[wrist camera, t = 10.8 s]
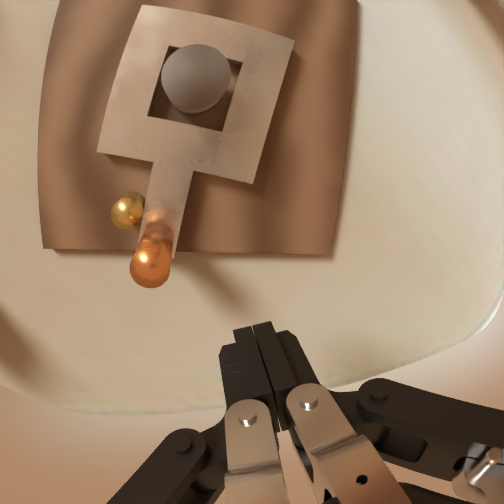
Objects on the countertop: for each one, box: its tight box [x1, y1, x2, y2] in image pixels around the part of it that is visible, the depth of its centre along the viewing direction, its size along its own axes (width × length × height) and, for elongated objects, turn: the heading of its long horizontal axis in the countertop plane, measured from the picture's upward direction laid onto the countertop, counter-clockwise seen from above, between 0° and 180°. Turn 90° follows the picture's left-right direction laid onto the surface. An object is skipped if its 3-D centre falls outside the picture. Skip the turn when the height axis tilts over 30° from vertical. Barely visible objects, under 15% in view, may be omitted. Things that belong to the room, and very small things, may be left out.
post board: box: [38, 0, 357, 254], centre depth 18 cm, size 26×26×7 cm
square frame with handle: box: [97, 5, 295, 288], centre depth 18 cm, size 19×12×7 cm, turn 164°
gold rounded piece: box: [111, 192, 145, 230], centre depth 22 cm, size 2×2×3 cm
